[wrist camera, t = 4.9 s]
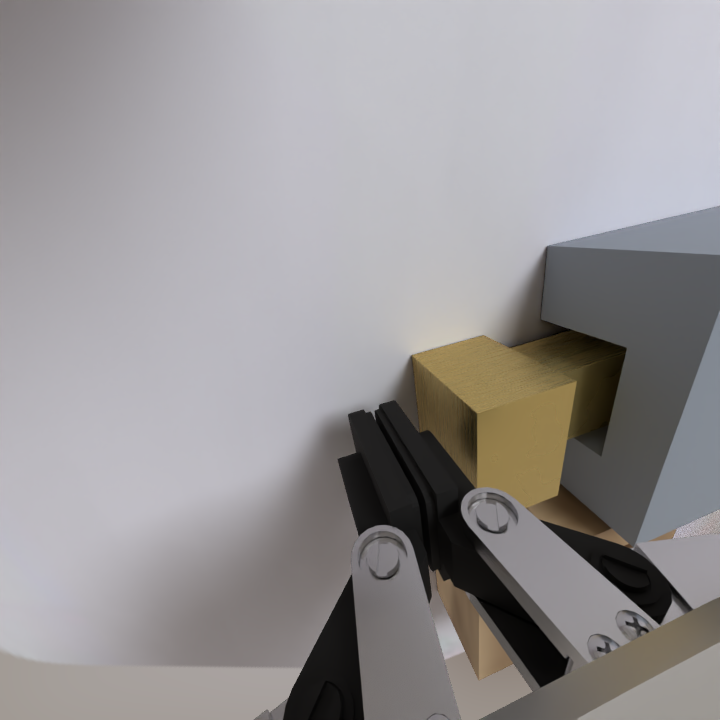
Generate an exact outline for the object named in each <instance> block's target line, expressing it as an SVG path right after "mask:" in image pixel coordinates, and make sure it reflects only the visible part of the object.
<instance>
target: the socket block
mask: <svg viewBox="0 0 720 720" xmlns="http://www.w3.org/2000/svg"><path fill="white" fill-rule="evenodd" d="M541 320H544V321H547V322H550V323H553V324H556V325H559V326H562V327H565V328H568V329H571V330H575V331H578V332H581V333H584V334H587V335H590V336H593V337H596V338H599V339H602V340H605V341H608V342H611V343H614V344H617V345H620V346H623V347H626V348H627V350H626V355H625V359H624V363H623V367H622V372H621V376H620V380H619V384H618V388H617V393H616V397H615V401H614V405H613V410H612V414H611V418H610V422H609V425H607V426H604V427H602V428H599V429H596V430H593V431H591V432H588V433H585V434H582V435H579V436H577V437H574V438H571V439H568V440H567V443H566V449H565V455H564V461H563V467H562V473H561V479H560V484H562V485H563V486H564V487H565V488H566V489H567V490H568V491H570V492H571V493H572V494H573V495H574V496H575V497H576V498H578V499H579V500H580V501H581V502H582V503H583V504H584V505H586V506H587V507H588V508H589V509H590V510H591V511H592V512H593V513H595V514H596V515H597V516H598V517H599V518H600V519H601V520H603V521H604V522H605V523H606V524H607V525H608V526H609V527H611V528H612V529H613V530H614V531H615V532H616V533H617V534H619V535H620V536H621V537H622V538H623V539H624V540H625V541H627V542H628V543H629V544H630V545H631V546H632V547H633V548H634V547H635V545H636V543H642V542H648V541H650V540H652V539H655V538H657V537H659V536H661V535H663V534H666V533H668V532H670V531H672V530H674V529H677V528H679V527H681V526H683V525H686V524H688V523H690V522H692V521H694V520H697V519H699V518H701V517H703V516H705V515H708V514H710V513H712V512H714V511H717V510H719V509H720V206H718V207H713V208H709V209H705V210H700V211H696V212H692V213H687V214H683V215H679V216H674V217H670V218H666V219H662V220H657V221H653V222H649V223H644V224H640V225H636V226H631V227H627V228H623V229H618V230H614V231H610V232H605V233H601V234H597V235H592V236H588V237H584V238H579V239H575V240H571V241H566V242H562V243H558V244H553V245H549V246H548V249H547V259H546V269H545V280H544V290H543V301H542V311H541Z"/></svg>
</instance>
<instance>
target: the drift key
mask: <svg viewBox="0 0 720 720" xmlns="http://www.w3.org/2000/svg"><path fill="white" fill-rule="evenodd" d="M626 350H627V348H626V347H623V346H620V345H617V344H614V343H611V342H608V341H605V340H602V339H599V338H596V337H593V336H590V335H587V334H584V333H581V332H578V331H575V330H570V331H567V332H563V333H560V334H557V335H553V336H550V337H546V338H543V339H539V340H536V341H532V342H529V343H526V344H522V345H519V346H515V347H512V348H508V347H506V346H504V345H502V344H500V343H498V342H496V341H494V340H492V339H490V338H488V337H486V336H484V335H483V336H479V337H475V338H472V339H468V340H465V341H461V342H457V343H454V344H450V345H447V346H443V347H439V348H436V349H432V350H429V351H425V352H421V353H418V354H414V355H412V362H413V371H414V381H415V391H416V400H417V410H418V419H419V429H420V432H423V431H426V430H429V431H430V432H431V433H432V434H433V435H434V436H435V438H436V439H437V440H438V441H439V443H440V444H441V445H442V446H443V448H444V449H445V450H446V451H447V453H448V454H449V455H450V457H451V458H452V459H453V460H454V462H455V463H456V464H457V465H458V467H459V468H460V469H461V470H462V472H463V473H464V474H465V476H466V477H467V478H468V479H469V481H470V482H471V483H472V484H473V486H474V487H475V488H476V489H477V488H484V487H489V488H495V489H499V490H501V491H503V492H506V493H507V494H509V495H510V496H512V497H513V498H515V499H516V500H517V501H518V502H519V503H520V504H522V505H523V506H524V507H525V508H527V507H530V506H532V505H535V504H537V503H540V502H542V501H545V500H547V499H550V498H552V497H555V496H558V491H559V485H560V479H561V473H562V467H563V461H564V455H565V449H566V443H567V440H568V439H571V438H574V437H577V436H579V435H582V434H585V433H588V432H591V431H593V430H596V429H599V428H602V427H604V426H607V425H609V422H610V418H611V414H612V410H613V405H614V401H615V397H616V393H617V388H618V384H619V380H620V376H621V372H622V367H623V363H624V359H625V355H626Z"/></svg>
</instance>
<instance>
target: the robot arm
mask: <svg viewBox="0 0 720 720" xmlns="http://www.w3.org/2000/svg"><path fill="white" fill-rule="evenodd" d="M348 417H349V422H350V426H351V430H352V435H353V439H354V444H355V448H356V453H355V454H352V455H349V456H346V457H342V458H339V459H338V463H339V466H340V470H341V474H342V478H343V481H344V485H345V489H346V492H347V496H348V499H349V503H350V507H351V510H352V514H353V517H354V521H355V524H356V528H357V531H358V535H359V538H358V539H357V540H356V542H355V544H354V546H353V549H352V553H351V568H352V575H351V577H350V579H349V580H348V582H347V584H346V586H345V588H344V590H343V592H342V594H341V596H340V598H339V600H338V602H337V604H336V605H335V607H334V609H333V611H332V613H331V615H330V617H329V619H328V621H327V623H326V625H325V627H324V629H323V630H322V632H321V634H320V636H319V638H318V640H317V642H316V644H315V646H314V648H313V650H312V652H311V654H310V656H309V657H308V659H307V661H306V663H305V665H304V667H303V669H302V671H301V673H300V675H299V677H298V679H297V681H296V683H295V684H294V686H293V688H292V691H291V693H290V696H289V698H288V699H286V700H285V701H284V702H283V703H281V704H280V705H279V706H278V707H276V708H275V709H274V710H273V711H271V712H269V711H268V710H266V711H264V712H263V713H262V714H261V715H259V716H258V717H257V718H255V719H254V720H461V717H460V714H459V710H458V707H457V703H456V700H455V696H454V692H453V689H452V685H451V682H450V678H449V674H448V671H447V667H446V664H445V660H444V657H443V653H442V649H441V646H440V642H439V639H438V635H437V631H436V628H435V624H434V621H433V617H432V614H431V610H430V606H429V603H430V600H431V596H432V594H431V586H430V577H429V569H428V565H429V567H430V569H431V570H432V572H433V571H435V570H438V571H439V573H440V575H441V577H442V579H443V581H446V580H448V579H451V581H452V583H453V585H454V586H455V587H457V588H459V589H461V590H463V591H465V593H466V594H467V596H468V598H469V600H470V602H471V603H472V605H473V606H474V608H475V609H476V610H477V612H478V613H479V615H480V616H481V618H482V619H483V621H484V622H485V623H486V625H487V626H488V628H489V629H490V631H491V632H492V633H493V635H494V636H495V638H496V639H497V641H498V642H499V644H500V645H501V646H502V648H503V649H504V651H505V652H506V654H507V655H508V657H509V658H510V659H511V661H512V662H513V664H514V665H515V667H516V668H517V669H518V671H519V672H520V674H521V675H522V677H523V678H524V679H525V681H526V683H527V684H528V685H529V687H530V688H531V690H532V691H533V692H532V693H530V694H528V695H526V696H524V697H523V698H520V699H518V700H516V701H514V702H512V703H511V704H509V705H507V706H505V707H503V708H501V709H499V710H497V711H495V712H493V713H491V714H489V715H487V716H485V717H483V718H482V719H480V720H720V534H707V535H699V536H691V537H683V538H674V539H666V540H658V541H650V542H642V543H636V545H635V547H634V548H628V547H625V546H623V545H620V544H618V543H614V542H611V541H608V540H605V539H601V538H598V537H595V536H592V535H588V534H585V533H582V532H579V531H576V530H572V529H569V528H566V527H563V526H559V525H556V524H553V523H550V522H546V521H543V520H540V519H538V518H536V517H535V516H534V515H533V514H532V513H531V512H530V511H528V510H527V509H526V508H525V507H524V506H523V505H522V504H520V503H519V502H518V501H517V500H516V499H515V498H513V497H512V496H510V495H509V494H507V493H506V492H503V491H501V490H499V489H495V488H489V487H484V488H477V489H476V488H475V487H474V486H473V484H472V483H471V482H470V481H469V479H468V478H467V477H466V476H465V474H464V473H463V472H462V470H461V469H460V468H459V467H458V465H457V464H456V463H455V462H454V460H453V459H452V458H451V457H450V455H449V454H448V453H447V451H446V450H445V449H444V448H443V446H442V445H441V444H440V443H439V441H438V440H437V439H436V438H435V436H434V435H433V434H432V433H431V432H430V431H429V430H426V431H423V432H419V433H418V431H417V430H416V429H415V427H414V426H413V424H412V423H411V422H410V420H409V419H408V418H407V416H406V415H405V413H404V412H403V411H402V409H401V408H400V407H399V405H398V404H397V402H396V401H395V400H393V401H390V402H387V403H383V404H380V405H379V409H378V410H375V418H376V421H375V419H374V417H373V415H372V413H371V412H368V413H365V411H364V410H360V411H357V412H353V413H350V414H348Z"/></svg>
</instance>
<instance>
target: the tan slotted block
mask: <svg viewBox="0 0 720 720" xmlns="http://www.w3.org/2000/svg"><path fill="white" fill-rule="evenodd" d="M526 509H527V510H528V511H530V512H531V513H532V514H533V515H534V516H535V517H536V518H538V519H540V520H543V521H546V522H550V523H553V524H556V525H559V526H563V527H566V528H569V529H572V530H576V531H579V532H582V533H585V534H588V535H592V536H595V537H598V538H601V539H605V540H608V541H611V542H614V543H618V544H620V545H623V546H625V547H628V548H633V547H632V546H631V545H630V544H629V543H628V542H627V541H625V540H624V539H623V538H622V537H621V536H620V535H619V534H617V533H616V532H615V531H614V530H613V529H612V528H611V527H609V526H608V525H607V524H606V523H605V522H604V521H603V520H601V519H600V518H599V517H598V516H597V515H596V514H595V513H593V512H592V511H591V510H590V509H589V508H588V507H587V506H586V505H584V504H583V503H582V502H581V501H580V500H579V499H578V498H576V497H575V496H574V495H573V494H572V493H571V492H570V491H568V490H567V489H566V488H565V487H564V486H563V485H562V484H560V485H559V491H558V496H555V497H552V498H550V499H547V500H545V501H542V502H540V503H537V504H535V505H532V506H530V507H527V508H526ZM675 531H676V529H674V530H672V531H670V532H668V533H666V534H663V535H661V536H659V537H657V538H655V539H652V540H650V541H658V540H666V539H672V538H673V536H674V534H675ZM650 541H648V542H650ZM436 578H437V588H438V593H439V595H440V597H441V599H442V602H443V604H444V606H445V608H446V610H447V612H448V615H449V617H450V619H451V621H452V623H453V626H454V628H455V630H456V632H457V634H458V636H459V639H460V641H461V643H462V645H463V647H464V650H465V652H466V654H467V656H468V658H469V660H470V663H471V665H472V667H473V669H474V671H475V674H476V676H477V678H478V680H481V679H483V678H485V677H487V676H489V675H491V674H493V673H496V672H498V671H499V670H502V669H504V668H506V667H508V666H510V665H512V664H513V662H512V661H511V659H510V658H509V657H508V655H507V654H506V652H505V651H504V649H503V648H502V646H501V645H500V644H499V642H498V641H497V639H496V638H495V636H494V635H493V633H492V632H491V631H490V629H489V628H488V626H487V625H486V623H485V622H484V621H483V619H482V618H481V616H480V615H479V613H478V612H477V610H476V609H475V608H474V606H473V605H472V603H471V602H470V600H469V598H468V596H467V594H466V593H465V591H463V590H461V589H459V588H457V587H455V586H454V585H453V583H452V581H451V579H448V580H446V581H443V579H442V577H441V575H440V573H439V571H438V570H436Z"/></svg>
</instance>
